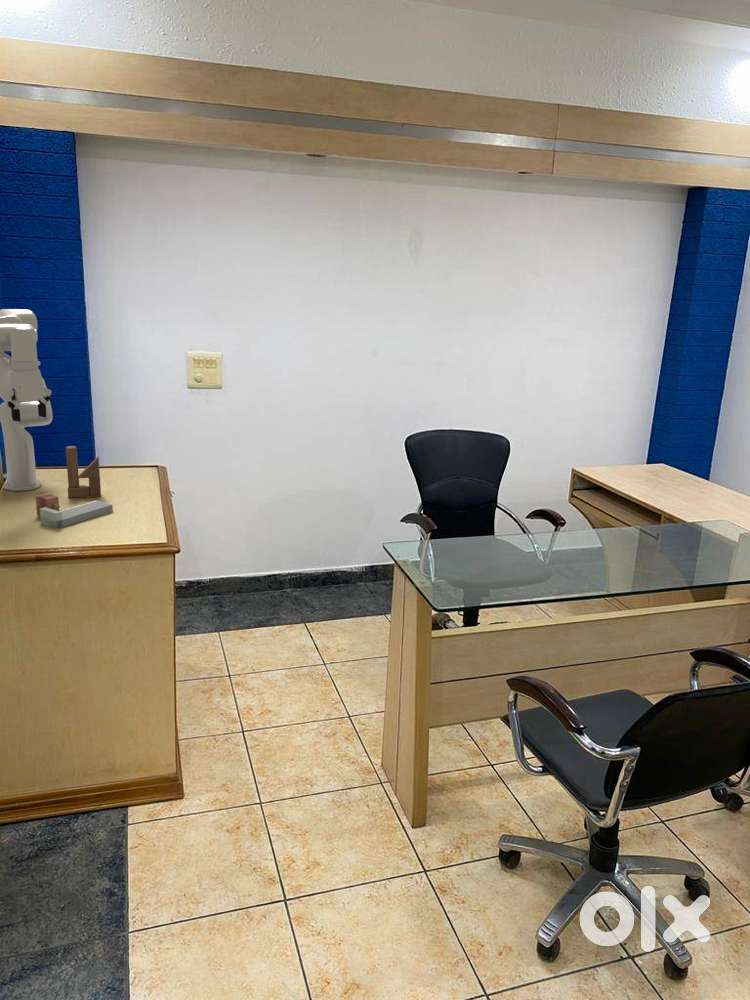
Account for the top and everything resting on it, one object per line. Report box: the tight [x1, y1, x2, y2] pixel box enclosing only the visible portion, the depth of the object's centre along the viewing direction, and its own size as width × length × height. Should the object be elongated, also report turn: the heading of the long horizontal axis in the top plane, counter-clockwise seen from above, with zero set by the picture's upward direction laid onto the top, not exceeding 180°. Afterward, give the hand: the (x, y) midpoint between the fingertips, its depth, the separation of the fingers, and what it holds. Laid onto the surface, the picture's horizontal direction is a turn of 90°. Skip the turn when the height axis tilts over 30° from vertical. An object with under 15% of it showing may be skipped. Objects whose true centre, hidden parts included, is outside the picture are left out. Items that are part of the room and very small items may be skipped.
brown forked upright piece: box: [65, 445, 102, 499], centre depth 278 cm, size 4×11×18 cm, turn 105°
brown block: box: [35, 492, 61, 518], centre depth 257 cm, size 8×4×7 cm, turn 59°
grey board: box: [39, 499, 114, 529], centre depth 258 cm, size 8×22×5 cm, turn 149°
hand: (29, 418), depth 258 cm, fingers open, 9 cm apart
